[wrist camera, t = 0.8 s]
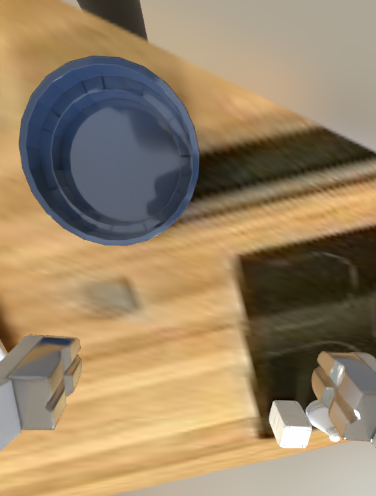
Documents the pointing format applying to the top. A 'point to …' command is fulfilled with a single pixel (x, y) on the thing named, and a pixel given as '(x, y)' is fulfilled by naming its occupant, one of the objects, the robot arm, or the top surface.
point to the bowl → (109, 150)
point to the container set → (299, 423)
